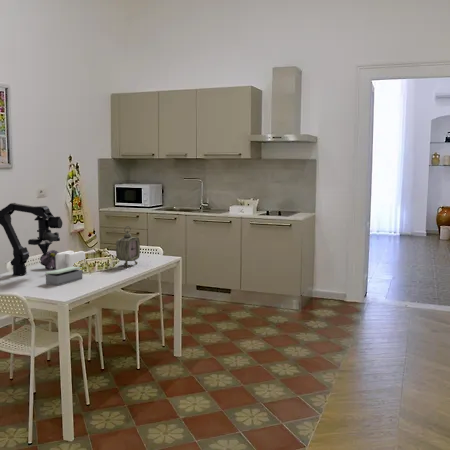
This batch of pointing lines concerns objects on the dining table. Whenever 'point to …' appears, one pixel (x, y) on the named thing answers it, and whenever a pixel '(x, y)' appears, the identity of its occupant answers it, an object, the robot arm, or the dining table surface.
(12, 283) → the dining table surface
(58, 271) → the cover
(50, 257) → the decorative flower
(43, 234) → the robot arm
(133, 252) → the tabletop clock
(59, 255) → the cable organizer
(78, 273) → the grey open box
